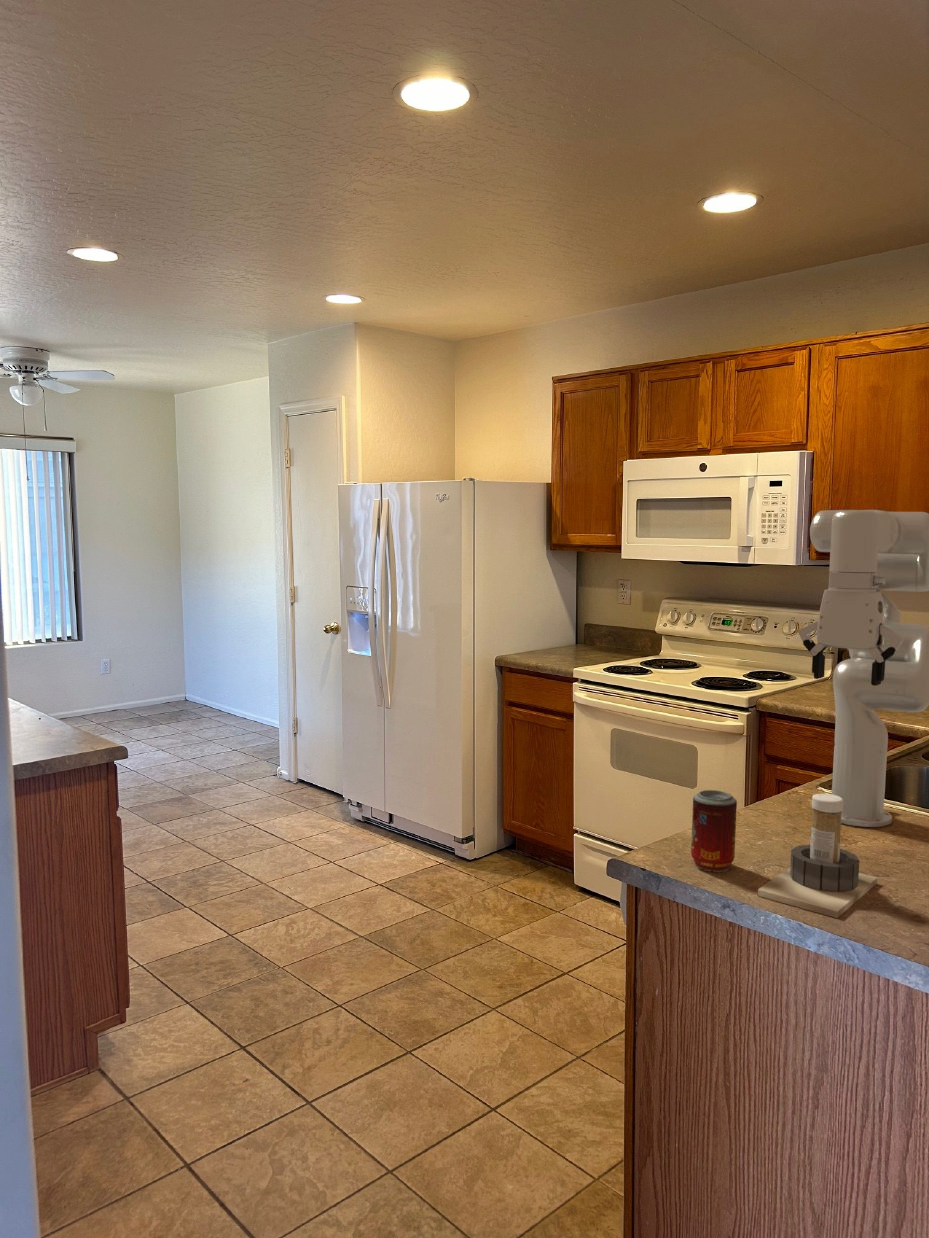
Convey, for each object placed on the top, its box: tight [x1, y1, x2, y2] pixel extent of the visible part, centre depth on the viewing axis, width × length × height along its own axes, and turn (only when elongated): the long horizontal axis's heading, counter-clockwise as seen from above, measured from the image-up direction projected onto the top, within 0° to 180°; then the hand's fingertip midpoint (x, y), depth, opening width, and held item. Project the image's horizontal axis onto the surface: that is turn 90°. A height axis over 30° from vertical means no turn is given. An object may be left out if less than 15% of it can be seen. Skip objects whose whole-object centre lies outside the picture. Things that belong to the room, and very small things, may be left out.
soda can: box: [690, 789, 738, 873], centre depth 152 cm, size 7×7×12 cm
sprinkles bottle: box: [810, 793, 843, 864], centre depth 144 cm, size 5×5×14 cm
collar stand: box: [757, 843, 878, 919], centre depth 143 cm, size 18×12×5 cm, turn 139°
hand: (846, 681), depth 158 cm, fingers open, 9 cm apart
